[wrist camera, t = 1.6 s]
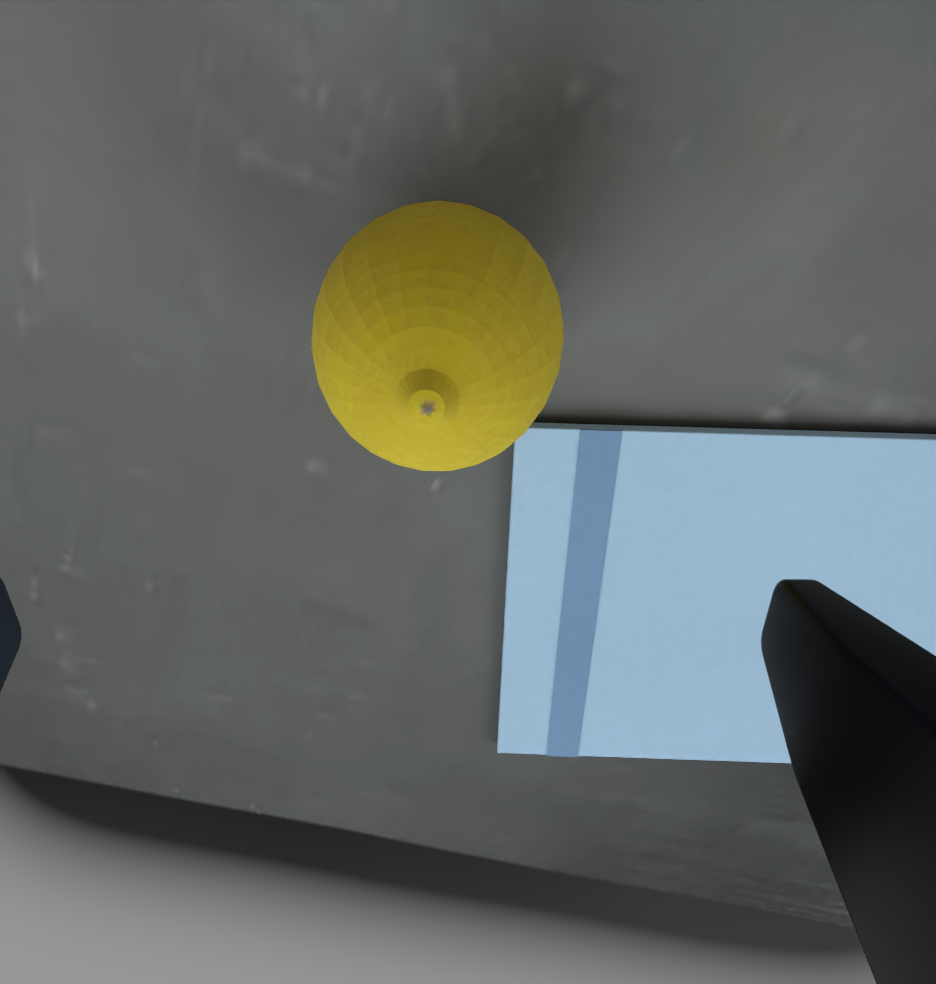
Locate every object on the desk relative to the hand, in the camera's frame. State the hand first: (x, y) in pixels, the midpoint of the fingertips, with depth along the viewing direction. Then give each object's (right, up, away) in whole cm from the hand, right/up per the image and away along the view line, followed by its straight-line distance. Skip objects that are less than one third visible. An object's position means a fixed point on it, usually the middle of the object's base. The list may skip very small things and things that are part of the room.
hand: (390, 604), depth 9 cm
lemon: (0, +7, +12) cm, 14 cm away
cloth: (+12, -3, +17) cm, 21 cm away
